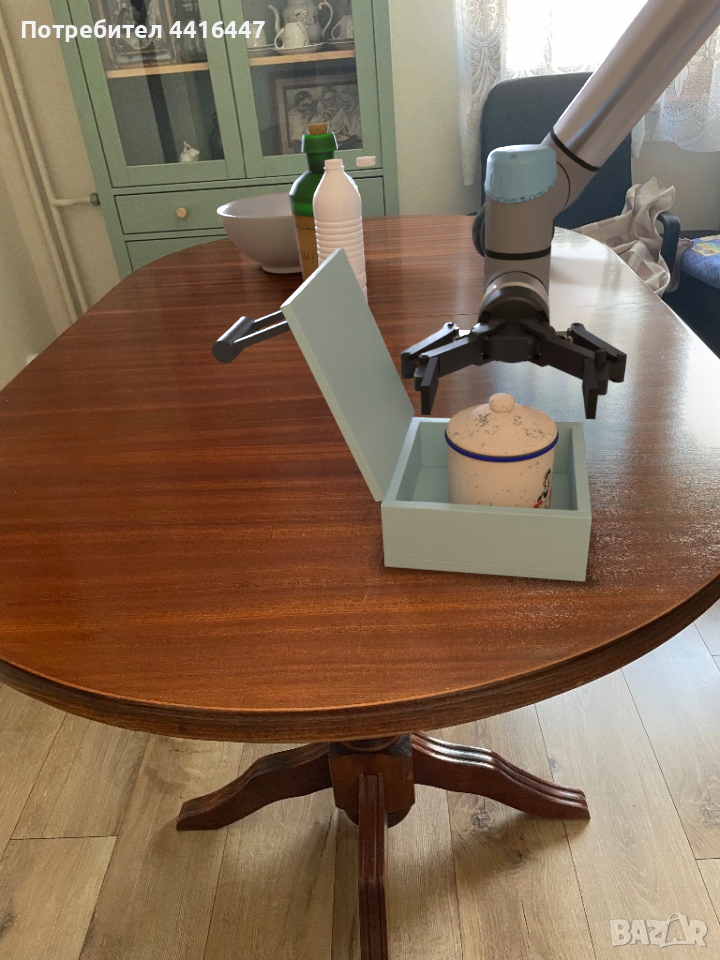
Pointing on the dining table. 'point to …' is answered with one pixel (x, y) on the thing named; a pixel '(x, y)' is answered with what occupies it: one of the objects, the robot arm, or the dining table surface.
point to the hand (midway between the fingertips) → (506, 402)
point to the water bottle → (340, 217)
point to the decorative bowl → (263, 231)
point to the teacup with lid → (501, 455)
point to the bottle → (310, 193)
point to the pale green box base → (485, 515)
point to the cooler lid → (341, 364)
